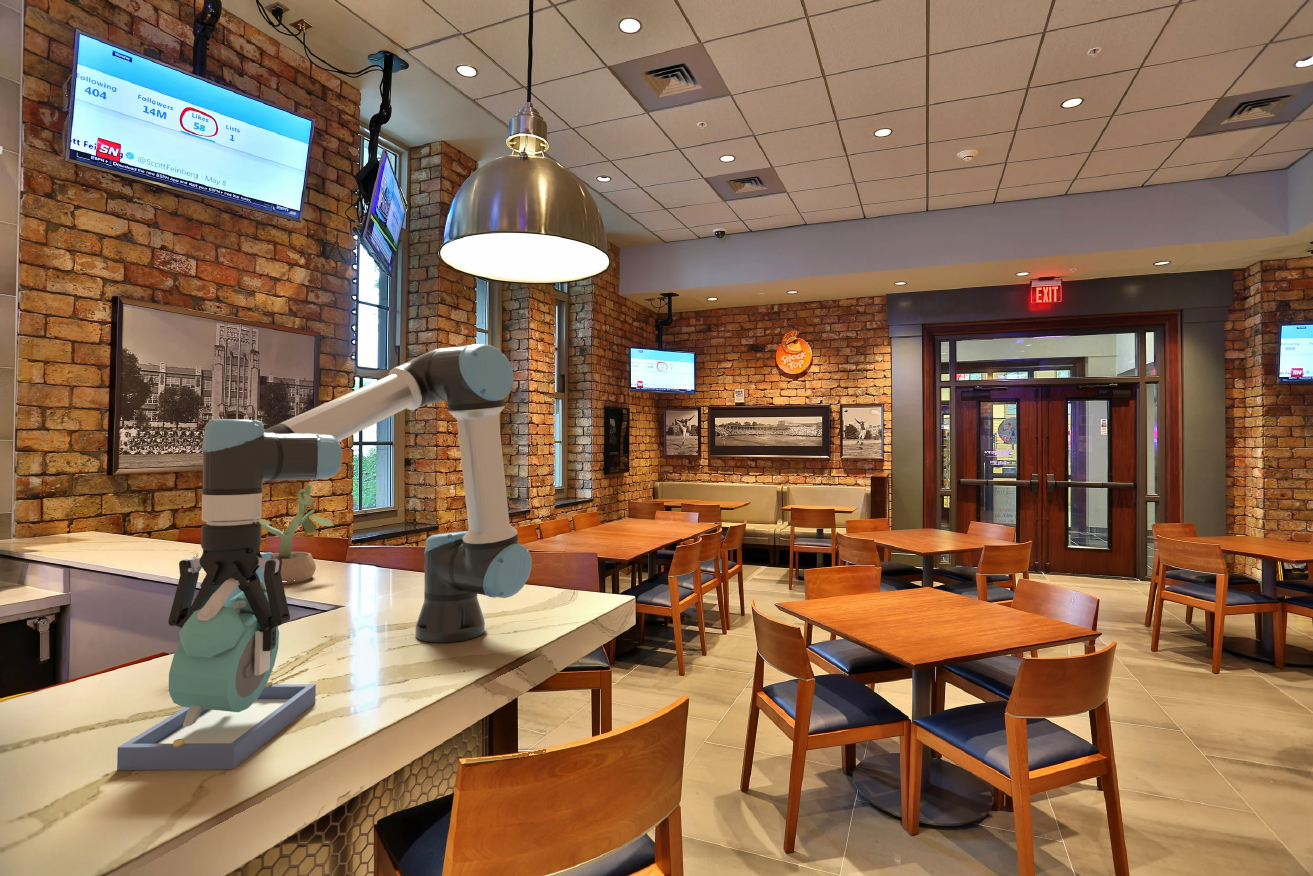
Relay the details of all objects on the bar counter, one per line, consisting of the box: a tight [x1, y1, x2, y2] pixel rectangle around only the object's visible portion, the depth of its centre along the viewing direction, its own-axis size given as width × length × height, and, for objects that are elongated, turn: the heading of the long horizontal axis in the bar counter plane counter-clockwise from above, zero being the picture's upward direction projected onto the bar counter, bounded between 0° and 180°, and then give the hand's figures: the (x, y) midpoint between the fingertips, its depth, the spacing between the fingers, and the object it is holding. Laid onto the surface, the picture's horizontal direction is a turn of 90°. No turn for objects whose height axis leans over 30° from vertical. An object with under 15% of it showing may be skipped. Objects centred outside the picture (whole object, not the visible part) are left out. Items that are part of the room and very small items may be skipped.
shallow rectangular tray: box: [116, 680, 317, 771], centre depth 95 cm, size 15×22×4 cm
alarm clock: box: [168, 578, 280, 727], centre depth 95 cm, size 17×10×20 cm, turn 5°
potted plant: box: [257, 484, 336, 586], centre depth 199 cm, size 22×18×30 cm
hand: (229, 672), depth 95 cm, fingers closed on alarm clock, 9 cm apart
